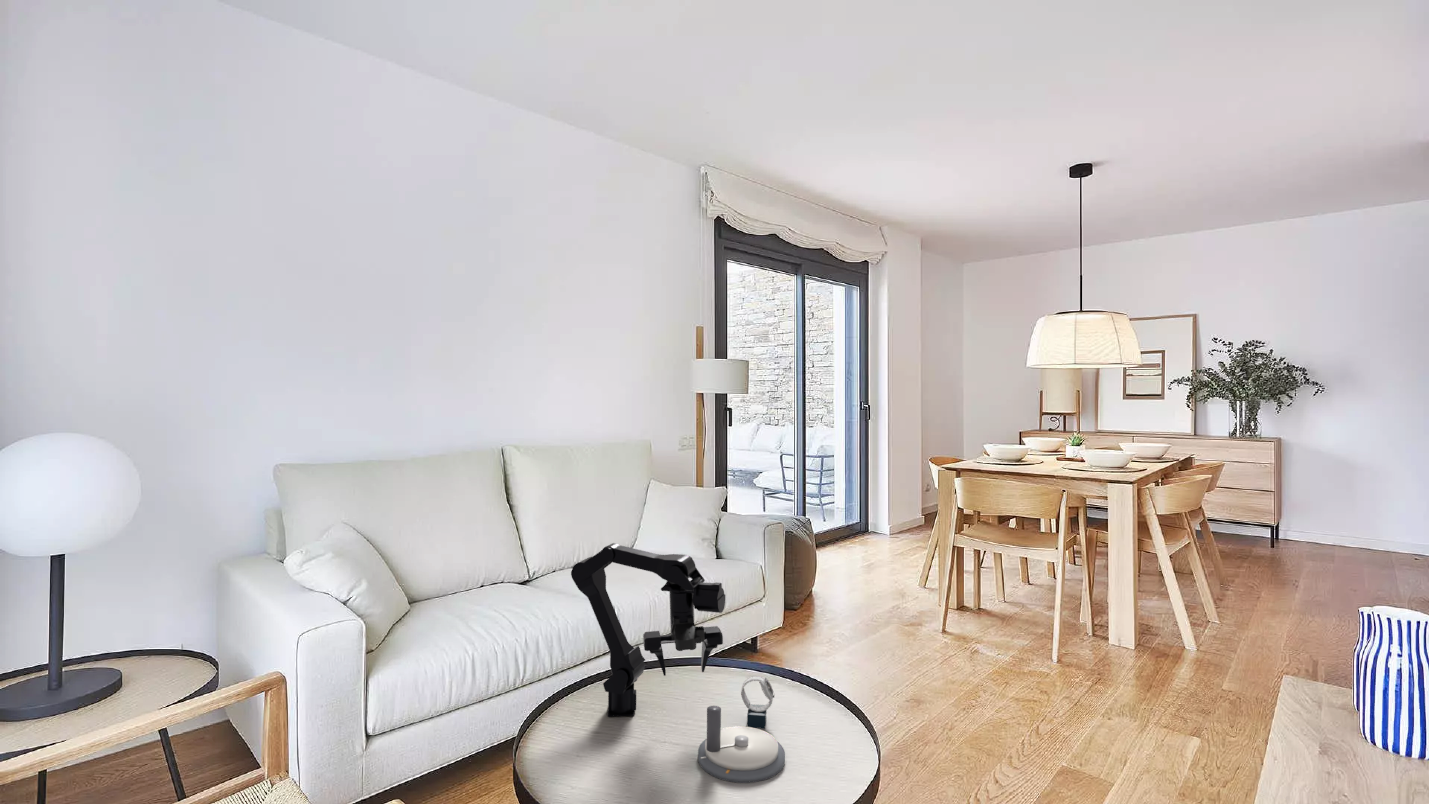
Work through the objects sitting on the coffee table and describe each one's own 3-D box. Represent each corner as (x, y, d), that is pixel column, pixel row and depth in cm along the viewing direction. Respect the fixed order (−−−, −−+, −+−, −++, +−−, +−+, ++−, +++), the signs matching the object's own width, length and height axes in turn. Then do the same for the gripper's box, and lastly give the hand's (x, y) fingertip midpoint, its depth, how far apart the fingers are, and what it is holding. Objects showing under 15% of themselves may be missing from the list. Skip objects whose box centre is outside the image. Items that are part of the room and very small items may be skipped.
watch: (773, 729, 174) (774, 683, 173) (739, 726, 175) (740, 681, 174) (774, 718, 179) (775, 674, 179) (741, 715, 180) (742, 672, 180)
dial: (707, 772, 152) (708, 723, 151) (702, 733, 168) (702, 689, 167) (784, 769, 153) (785, 721, 153) (771, 731, 169) (772, 687, 169)
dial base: (701, 784, 150) (701, 776, 150) (695, 738, 169) (695, 731, 169) (792, 780, 152) (792, 773, 152) (776, 735, 171) (776, 728, 171)
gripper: (645, 623, 166) (647, 691, 167) (726, 616, 169) (727, 683, 170) (642, 608, 177) (644, 671, 178) (718, 602, 180) (719, 665, 181)
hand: (683, 673), depth 176 cm, fingers open, 9 cm apart
